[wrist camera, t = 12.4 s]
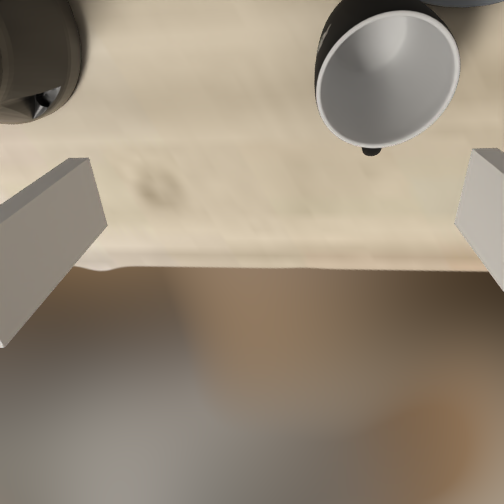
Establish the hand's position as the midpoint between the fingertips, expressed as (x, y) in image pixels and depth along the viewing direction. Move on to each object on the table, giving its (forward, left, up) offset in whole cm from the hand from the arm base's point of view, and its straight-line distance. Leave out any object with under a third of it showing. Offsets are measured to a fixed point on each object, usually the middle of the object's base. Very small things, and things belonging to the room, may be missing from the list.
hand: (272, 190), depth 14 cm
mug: (+6, +3, -25) cm, 26 cm away
